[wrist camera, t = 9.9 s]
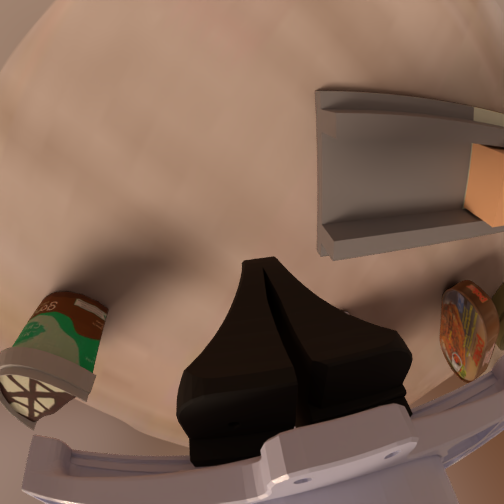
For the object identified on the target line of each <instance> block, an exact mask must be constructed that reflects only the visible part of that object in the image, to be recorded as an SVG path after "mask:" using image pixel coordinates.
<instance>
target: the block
mask: <svg viewBox="0 0 504 504" xmlns="http://www.w3.org/2000/svg"><path fill="white" fill-rule="evenodd" d="M464 208H466V209H467V210H469V211H470V212H472V213H473V214H475V215H476V216H478V217H479V218H480V219H482V220H483V221H485V222H486V223H487V224H489V225H490V226H491V227H498V226H504V147H499V146H492V145H483V144H474V143H473V146H472V155H471V164H470V171H469V178H468V185H467V191H466V197H465V202H464Z"/></svg>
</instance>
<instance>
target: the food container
mask: <svg viewBox="0 0 504 504" xmlns="http://www.w3.org/2000/svg"><path fill="white" fill-rule="evenodd" d="M107 313H108V308H106V307H105V306H104V305H102V304H101V303H99V302H98V301H96V300H94V299H91V298H89V297H87V296H85V295H83V294H78V293H73V292H69V291H64V292H54V293H52V294H50V295H48V296H46V297H45V298H44V299H43V301H42V302H41V304H40V305H39V306H38V308H37V309H36V311H35V312H34V314H33V315H32V317H31V318H30V320H29V321H28V323H27V324H26V326H25V327H24V329H23V330H22V332H21V333H20V335H19V337H18V338H17V340H16V341H15V343H14V345H13V346H12V347H11V348H7V349H5V350H3V351H1V352H0V402H1V404H2V405H3V406H4V407H5V408H6V410H7V411H8V412H9V413H10V414H11V415H13V416H14V417H15V418H16V419H17V420H19V421H20V422H21V423H23V424H24V425H26V426H27V427H29V428H30V429H32V430H34V428H35V425H36V422H37V421H38V420H39V419H40V418H42V417H44V416H46V415H51V414H54V413H55V412H57V411H58V410H59V409H60V408H61V407H63V406H64V405H65V404H66V403H68V402H69V401H70V400H72V399H74V398H75V397H77V398H79V399H81V400H83V401H85V402H87V398H88V395H89V393H90V392H91V389H92V386H93V383H94V381H95V378H96V375H95V374H93V369H94V365H95V360H96V356H97V352H98V347H99V343H100V339H101V335H102V331H103V327H104V324H105V320H106V316H107Z"/></svg>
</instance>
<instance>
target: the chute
mask: <svg viewBox="0 0 504 504" xmlns="http://www.w3.org/2000/svg"><path fill="white" fill-rule="evenodd" d="M315 102H316V126H317V168H318V216H317V251H318V253H319V255H320V256H321V257H323V256H330V257H331V259H332V261H336V260H343V259H349V258H355V257H362V256H368V255H374V254H380V253H386V252H392V251H398V250H404V249H410V248H416V247H422V246H428V245H433V244H439V243H445V242H450V241H456V240H461V239H467V238H472V237H478V236H483V235H489V234H494V233H499V232H504V226H498V227H491V226H490V225H489V224H487V223H486V222H485V221H483V220H482V219H480V218H479V217H478V216H476V215H475V214H473V213H472V212H470V211H469V210H467V209H466V208H464V202H465V197H466V191H467V185H468V178H469V171H470V164H471V155H472V146H473V143H474V144H483V145H492V146H499V147H504V114H502V113H498V112H495V111H490V110H486V109H482V108H478V107H473V106H468V105H464V104H458V103H453V102H448V101H442V100H435V99H429V98H422V97H414V96H406V95H396V94H386V93H373V92H355V91H315Z"/></svg>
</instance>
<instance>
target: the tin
mask: <svg viewBox="0 0 504 504" xmlns="http://www.w3.org/2000/svg"><path fill="white" fill-rule="evenodd" d="M499 330H500V322H499V316H498V312H497V310H496V307H495V305H494V303H493V301H492V300H491V298H490V297H489V296H488V295H487V294H486V293H485V292H484V291H483V290H482V289H481V288H480V287H479V286H477V285H476V284H475V283H473V282H472V281H469V280H464V281H461V282H459V283H458V284H456V285H455V286H453V287H452V288H450V289H447V290H446V291H445V292H444V294H443V296H442V310H441V327H440V344H441V348H442V351H443V354H444V356H445V358H446V360H447V362H448V364H449V366H450V367H451V369H452V371H453V372H454V373H455V374H456V375H457V376H458V378H460V379H461V380H462V381H463V382H465V383H470V382H472V381H474V380H475V379H476V378H477V377H478V376H480V375H481V374H482V373H483V372H484V371H485V370H486V369H487V367H488V364H489V361H490V359H491V356H492V353H493V350H494V347H495V344H496V341H497V338H498V334H499Z"/></svg>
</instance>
